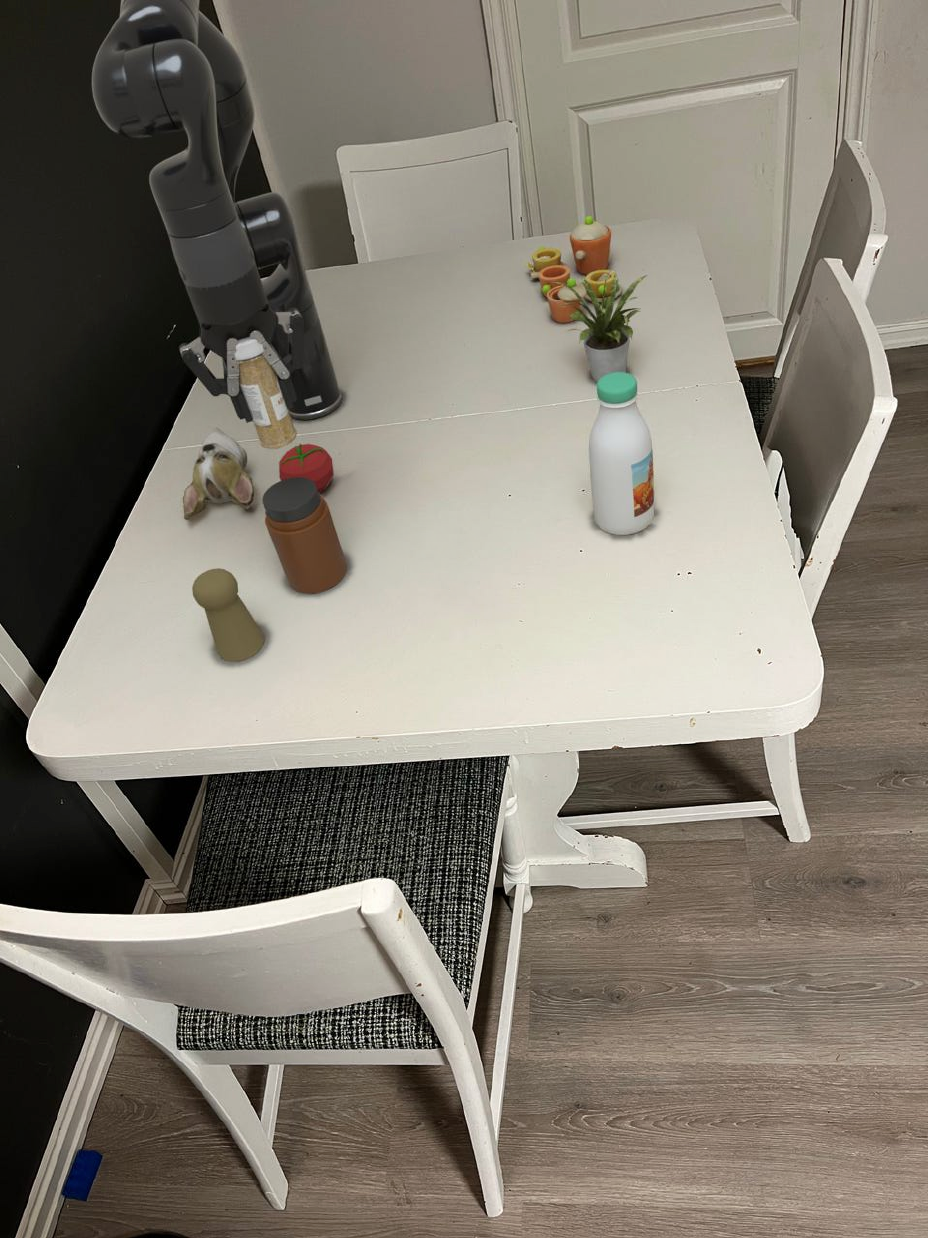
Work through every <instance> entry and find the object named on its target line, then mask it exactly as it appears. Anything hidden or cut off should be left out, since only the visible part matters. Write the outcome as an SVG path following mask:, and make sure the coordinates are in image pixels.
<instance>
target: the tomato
mask: <svg viewBox="0 0 928 1238" xmlns="http://www.w3.org/2000/svg"><path fill="white" fill-rule="evenodd" d="M278 474H279V479H280V481H282V480H285V479H288V478H293V477H304V478H308V479H310V480H312V481H313V482H314V483H315V484H316V487H317V490H318V492H319V493H320V494H321V493H322V492H323V491H324V490H325V489H327V487H328V485H329V484H330V482H331V480H332V479H333V477H334V475H335V474H334V463H333V458H332V457H331V455H330V454H329V453H328V451H327V450H326V449H325V448H323V447H322V446H320V445H317V444H311V443H304V444H302V443H299V444H298V445H294V446H293V447H291V448H290V449H289V450H287V451H286V452H285V453H284V454H283V456H282V457H281V458H280V460H279V461H278Z"/></svg>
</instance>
